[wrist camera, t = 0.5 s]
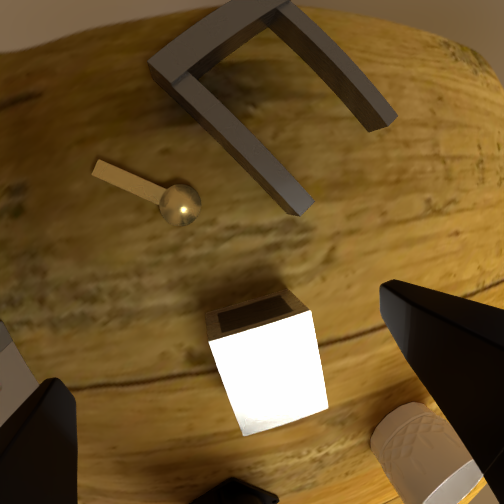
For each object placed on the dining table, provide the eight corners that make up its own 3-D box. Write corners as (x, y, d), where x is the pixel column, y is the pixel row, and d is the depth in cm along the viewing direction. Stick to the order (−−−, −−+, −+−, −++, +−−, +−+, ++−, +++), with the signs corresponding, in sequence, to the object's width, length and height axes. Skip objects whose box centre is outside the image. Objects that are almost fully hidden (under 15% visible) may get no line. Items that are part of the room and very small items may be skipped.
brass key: (207, 194, 19) (207, 194, 18) (190, 231, 19) (190, 232, 18) (106, 149, 18) (103, 148, 17) (90, 186, 18) (86, 185, 17)
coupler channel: (378, 122, 20) (402, 114, 17) (287, 214, 20) (303, 217, 17) (260, 1, 17) (269, -22, 14) (153, 79, 17) (146, 61, 14)
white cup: (362, 418, 24) (421, 493, 14) (432, 382, 25) (500, 436, 16) (364, 468, 26) (409, 533, 16) (427, 435, 27) (479, 488, 17)
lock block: (305, 374, 22) (328, 407, 18) (234, 396, 22) (243, 436, 17) (286, 287, 21) (310, 310, 17) (204, 311, 20) (208, 341, 16)
